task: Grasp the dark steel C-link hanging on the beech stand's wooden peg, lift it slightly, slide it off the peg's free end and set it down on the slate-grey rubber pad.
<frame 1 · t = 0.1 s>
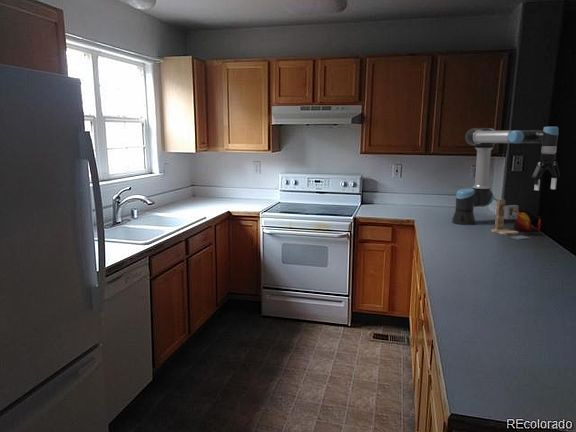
hand: (544, 189, 255), 28 cm above the worktop, fingers open, 13 cm apart
stand: (498, 231, 274), on the worktop
mug: (525, 230, 276), on the worktop
pad: (520, 238, 255), on the worktop
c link: (510, 218, 265), point 9 cm above the worktop, touching stand
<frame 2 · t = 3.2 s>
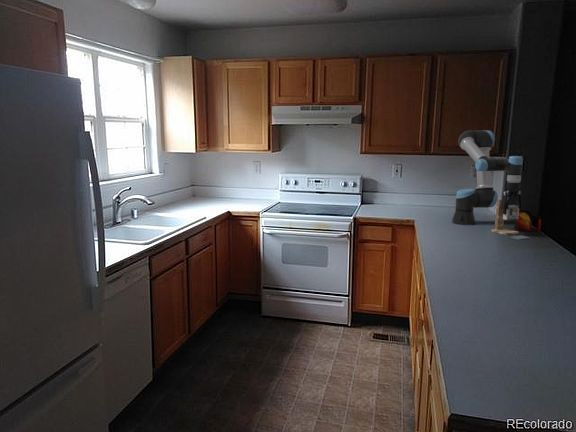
hand: (510, 218, 265), 9 cm above the worktop, fingers closed on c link, 8 cm apart
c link: (510, 218, 265), point 10 cm above the worktop, touching gripper, stand
everything else where it was.
when the fingers open (1 cm above the worktop, at t = 11.3 s): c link stays where it is, resting on pad.
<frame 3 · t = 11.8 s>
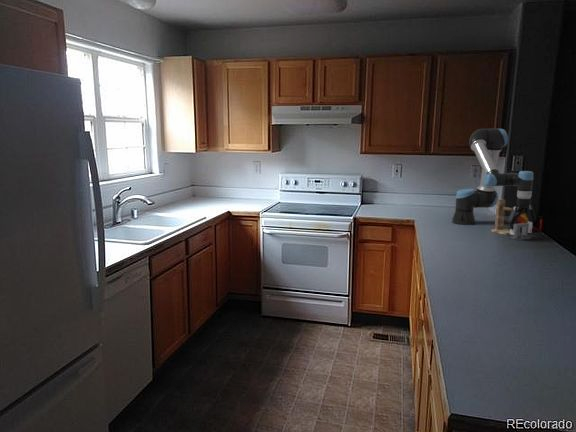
hand: (520, 233, 254), 3 cm above the worktop, fingers open, 13 cm apart
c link: (520, 237, 254), point 1 cm above the worktop, touching pad
everything else where it was.
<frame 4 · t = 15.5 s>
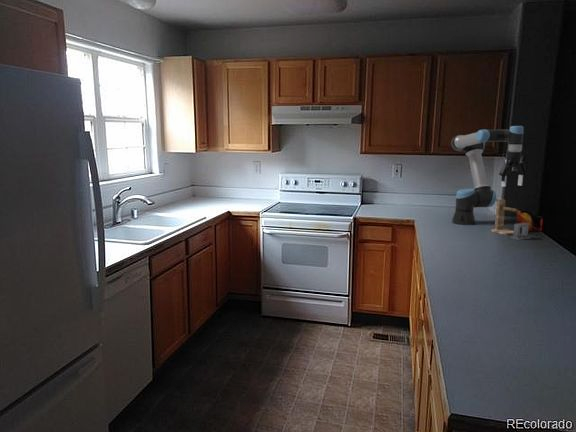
hand: (511, 186, 268), 29 cm above the worktop, fingers open, 13 cm apart
at the end: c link point 0.6 cm above the worktop; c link 0.0 cm from the pad (horizontally); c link touching pad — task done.
